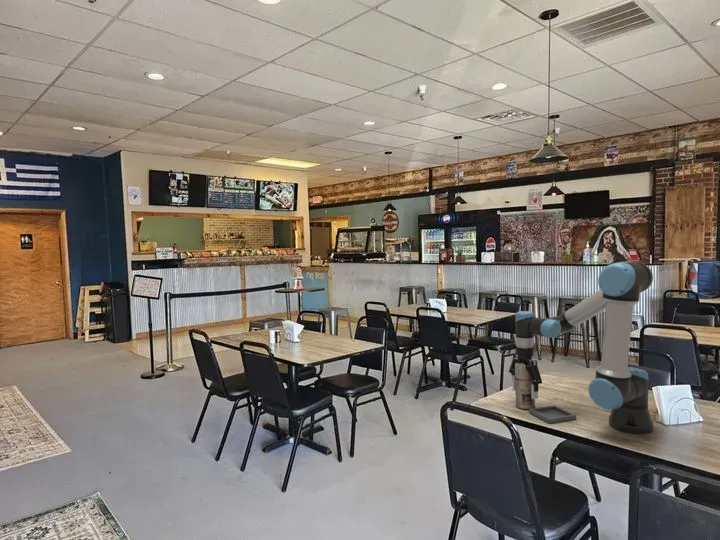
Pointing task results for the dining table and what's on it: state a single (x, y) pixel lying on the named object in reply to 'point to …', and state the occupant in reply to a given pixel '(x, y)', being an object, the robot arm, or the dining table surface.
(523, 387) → the spray can
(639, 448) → the dining table surface
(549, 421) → the tray
